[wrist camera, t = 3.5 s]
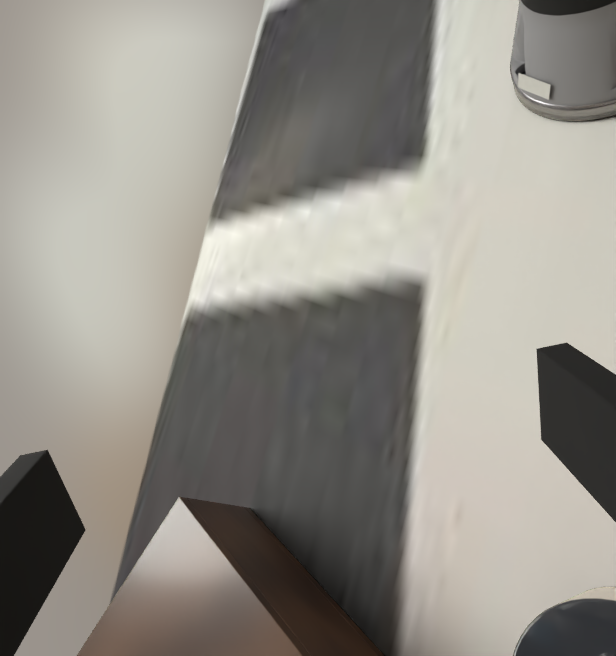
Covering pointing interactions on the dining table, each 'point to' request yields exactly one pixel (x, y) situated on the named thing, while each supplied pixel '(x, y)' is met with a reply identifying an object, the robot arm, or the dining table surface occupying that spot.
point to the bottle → (574, 627)
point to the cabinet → (222, 595)
